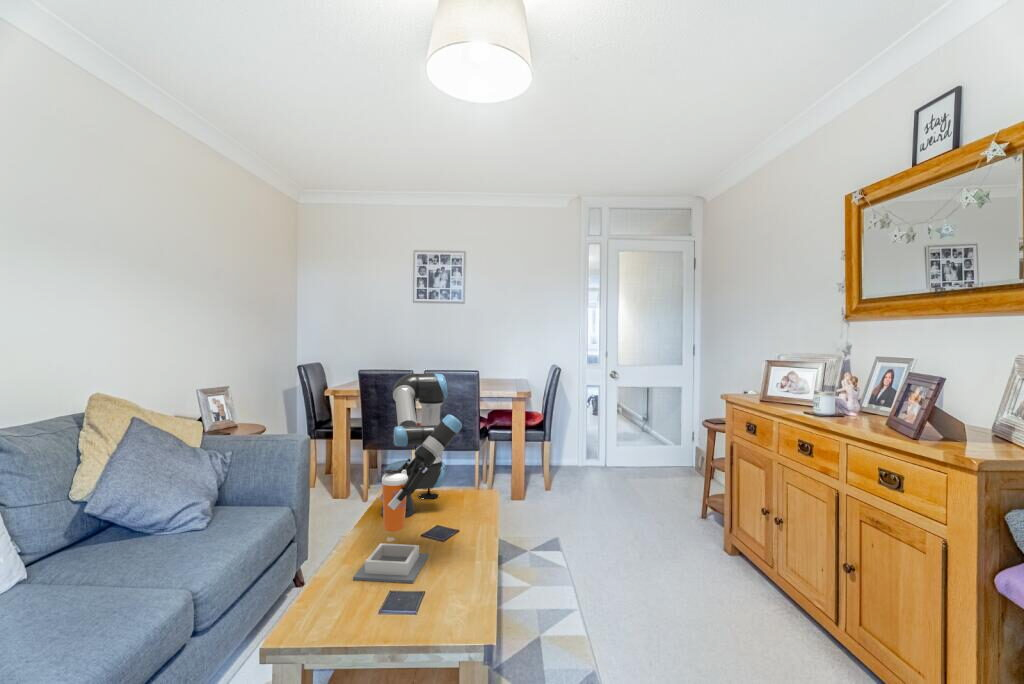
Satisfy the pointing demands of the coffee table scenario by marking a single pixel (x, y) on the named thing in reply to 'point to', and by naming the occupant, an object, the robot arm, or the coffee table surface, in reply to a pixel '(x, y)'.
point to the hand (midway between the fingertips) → (385, 503)
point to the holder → (393, 564)
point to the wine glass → (428, 495)
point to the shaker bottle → (391, 487)
